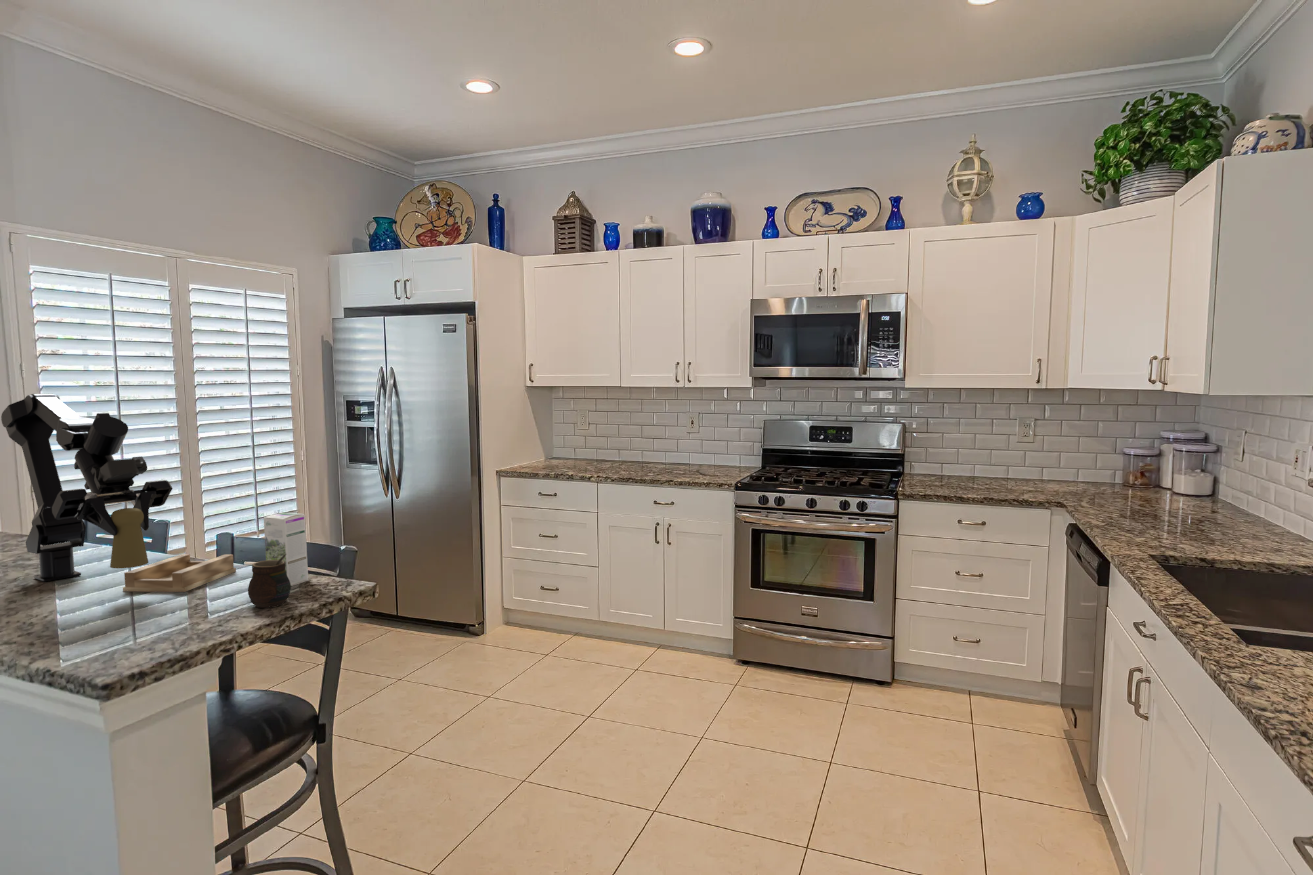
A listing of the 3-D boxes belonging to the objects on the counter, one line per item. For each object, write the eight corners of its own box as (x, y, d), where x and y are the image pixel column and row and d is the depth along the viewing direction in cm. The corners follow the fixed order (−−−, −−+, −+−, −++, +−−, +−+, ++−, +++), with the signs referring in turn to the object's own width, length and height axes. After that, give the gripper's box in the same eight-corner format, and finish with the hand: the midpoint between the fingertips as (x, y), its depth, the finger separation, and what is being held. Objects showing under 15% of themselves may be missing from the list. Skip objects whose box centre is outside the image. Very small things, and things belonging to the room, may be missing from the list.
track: (179, 570, 160) (179, 554, 160) (236, 571, 159) (235, 554, 159) (123, 591, 144) (121, 572, 144) (185, 591, 143) (184, 573, 143)
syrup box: (309, 580, 151) (306, 512, 150) (286, 587, 146) (283, 517, 145) (288, 578, 153) (285, 511, 152) (265, 585, 148) (262, 516, 147)
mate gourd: (264, 598, 139) (262, 547, 138) (301, 599, 138) (299, 548, 137) (239, 609, 131) (237, 556, 131) (277, 611, 131) (276, 557, 130)
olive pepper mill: (132, 568, 136) (129, 511, 135) (101, 568, 136) (98, 511, 136) (156, 560, 142) (153, 506, 141) (126, 560, 142) (124, 505, 142)
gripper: (55, 447, 131) (87, 512, 127) (165, 441, 148) (197, 498, 143) (38, 487, 136) (68, 551, 131) (147, 476, 152) (177, 532, 147)
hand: (131, 531), depth 138 cm, fingers closed on olive pepper mill, 5 cm apart
